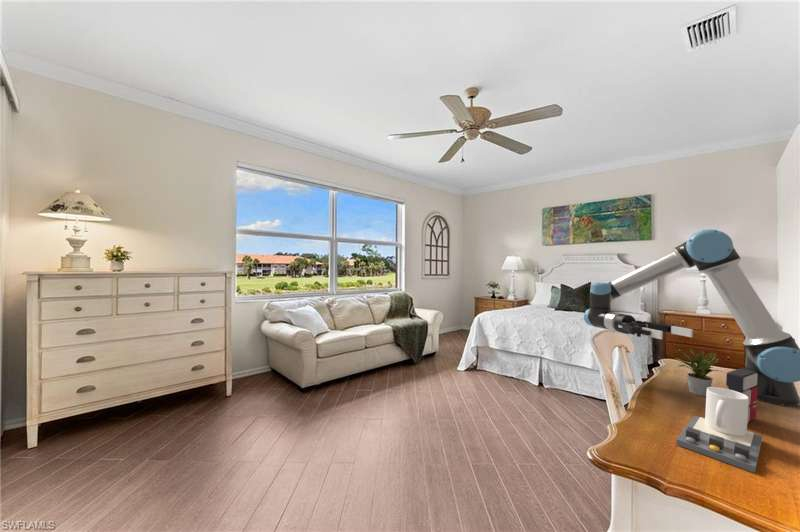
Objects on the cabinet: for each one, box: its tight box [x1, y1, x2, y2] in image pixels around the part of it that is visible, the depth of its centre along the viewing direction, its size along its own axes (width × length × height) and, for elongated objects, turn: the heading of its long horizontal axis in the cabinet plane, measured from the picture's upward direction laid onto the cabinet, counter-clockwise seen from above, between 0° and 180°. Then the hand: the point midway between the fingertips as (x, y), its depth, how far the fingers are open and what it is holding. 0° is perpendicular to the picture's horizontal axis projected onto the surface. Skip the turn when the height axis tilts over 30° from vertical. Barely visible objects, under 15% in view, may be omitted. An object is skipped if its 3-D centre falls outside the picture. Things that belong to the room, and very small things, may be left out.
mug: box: [704, 386, 749, 436], centre depth 90 cm, size 12×8×10 cm
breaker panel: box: [676, 415, 763, 474], centre depth 87 cm, size 22×14×4 cm, turn 129°
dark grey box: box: [725, 367, 758, 424], centre depth 100 cm, size 11×4×15 cm, turn 117°
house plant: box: [674, 348, 723, 397], centre depth 121 cm, size 14×14×16 cm
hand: (677, 334), depth 110 cm, fingers open, 13 cm apart
